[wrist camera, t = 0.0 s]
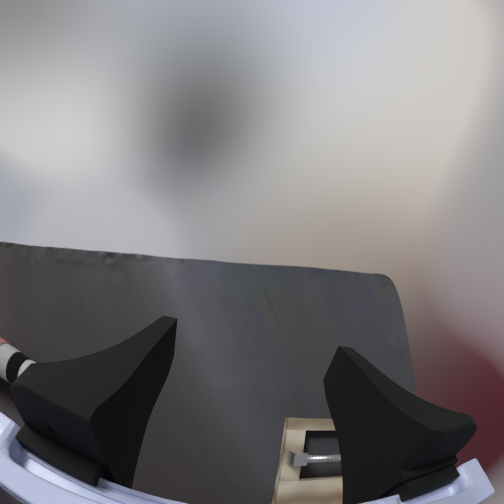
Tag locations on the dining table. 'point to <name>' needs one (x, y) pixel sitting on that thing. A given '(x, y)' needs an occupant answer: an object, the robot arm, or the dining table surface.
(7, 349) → the cable
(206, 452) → the dining table surface
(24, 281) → the dining table surface
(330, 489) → the beige board with cutout
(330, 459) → the threaded rod assembly
